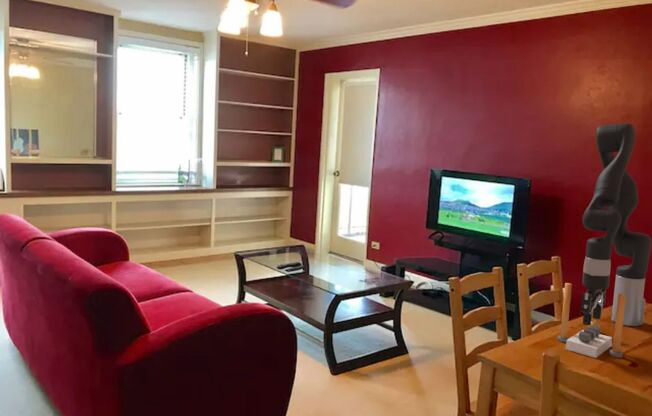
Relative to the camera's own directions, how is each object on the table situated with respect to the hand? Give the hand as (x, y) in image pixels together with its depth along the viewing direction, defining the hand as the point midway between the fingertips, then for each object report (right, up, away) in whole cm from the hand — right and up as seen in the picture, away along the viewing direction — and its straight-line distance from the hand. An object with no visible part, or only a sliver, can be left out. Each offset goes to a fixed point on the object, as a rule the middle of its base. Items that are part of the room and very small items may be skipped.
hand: (591, 321), depth 173 cm
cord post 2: (+5, -9, -5) cm, 12 cm away
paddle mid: (0, -5, 0) cm, 5 cm away
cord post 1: (-6, -8, +7) cm, 12 cm away
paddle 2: (+2, -5, +3) cm, 6 cm away
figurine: (+7, -7, +15) cm, 18 cm away
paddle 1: (-3, -5, -2) cm, 7 cm away
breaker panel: (0, -9, +1) cm, 9 cm away
